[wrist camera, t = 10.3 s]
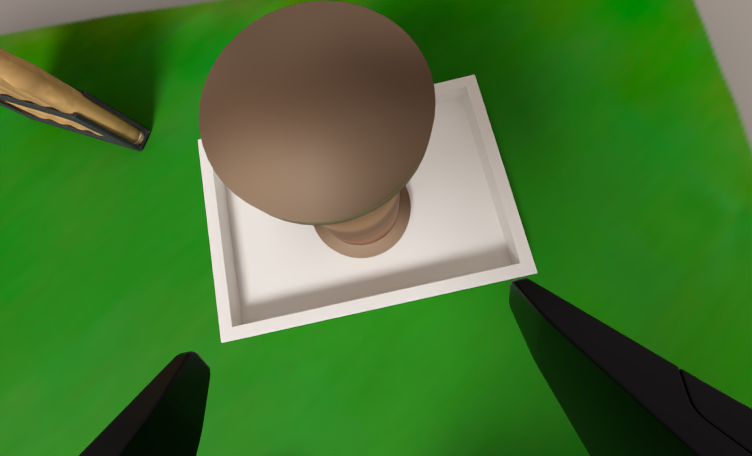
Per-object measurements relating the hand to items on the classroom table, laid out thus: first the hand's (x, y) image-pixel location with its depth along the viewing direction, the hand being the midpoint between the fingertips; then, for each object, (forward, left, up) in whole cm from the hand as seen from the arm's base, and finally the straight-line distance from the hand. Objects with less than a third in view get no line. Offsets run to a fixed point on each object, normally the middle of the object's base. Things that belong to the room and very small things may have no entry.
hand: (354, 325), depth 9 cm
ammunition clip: (+9, +26, -13) cm, 30 cm away
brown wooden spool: (+6, +2, -12) cm, 14 cm away
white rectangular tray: (+6, +3, -13) cm, 14 cm away
